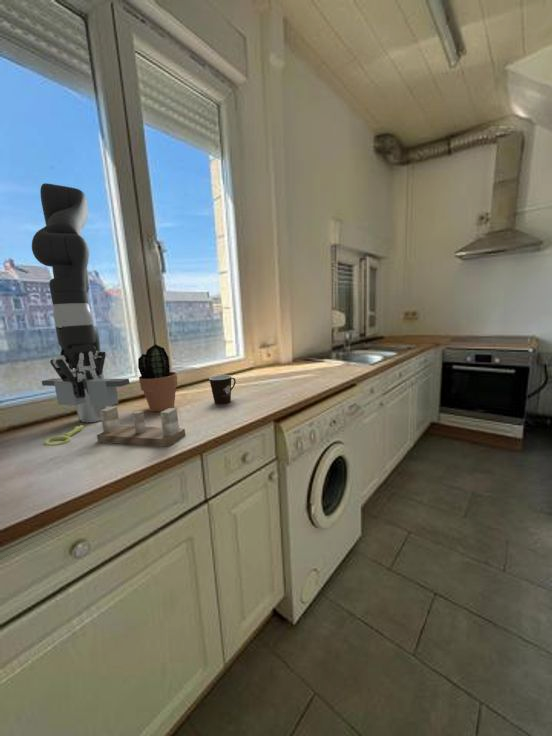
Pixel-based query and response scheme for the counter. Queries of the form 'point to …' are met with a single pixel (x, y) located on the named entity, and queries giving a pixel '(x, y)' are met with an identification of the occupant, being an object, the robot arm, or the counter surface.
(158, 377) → the potted plant
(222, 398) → the coffee mug
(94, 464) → the counter surface
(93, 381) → the square weight dumbbell
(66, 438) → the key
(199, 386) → the counter surface
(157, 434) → the display stand
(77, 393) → the robot arm
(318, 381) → the counter surface
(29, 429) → the counter surface
